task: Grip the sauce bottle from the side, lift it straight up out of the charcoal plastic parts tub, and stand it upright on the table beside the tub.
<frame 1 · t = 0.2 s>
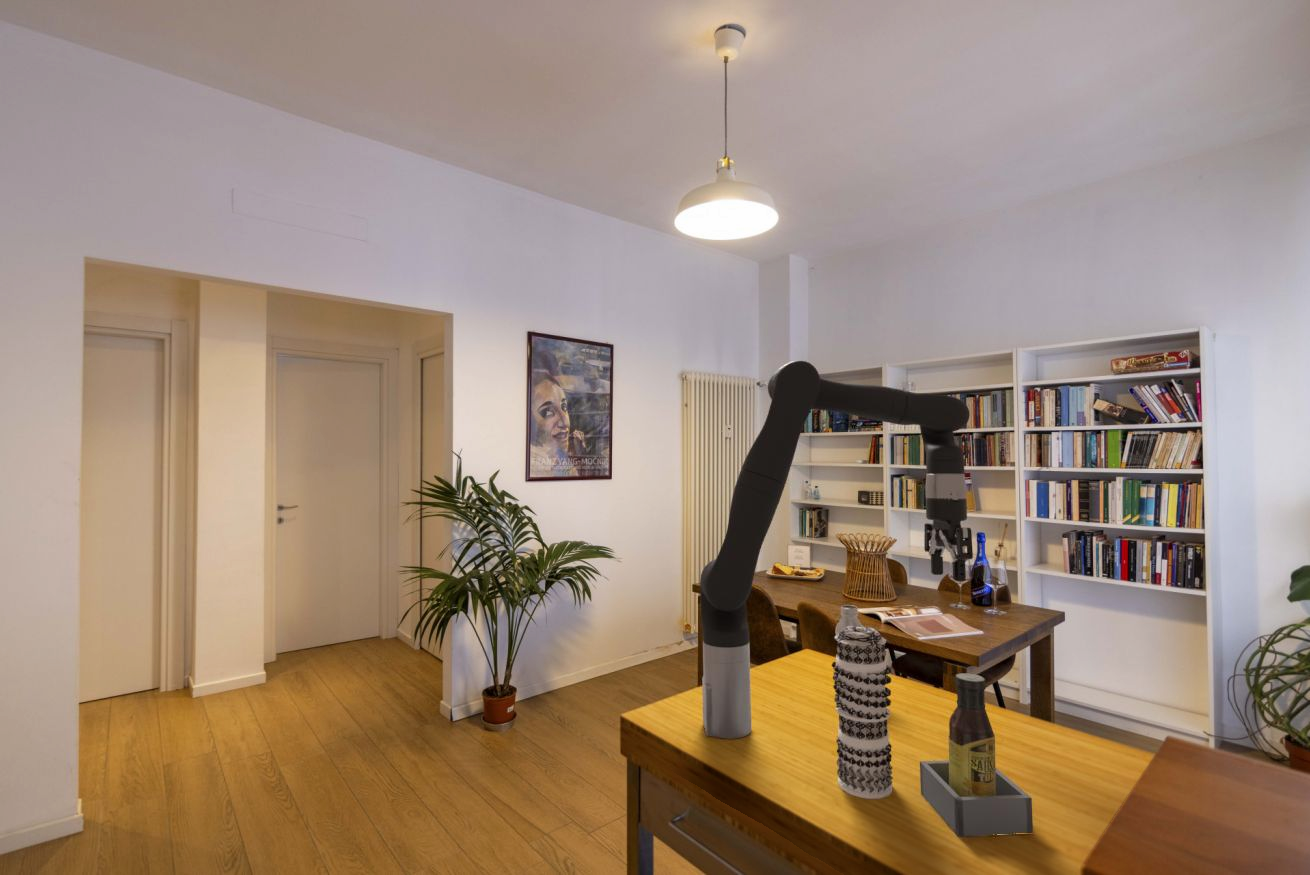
hand: (948, 577, 127), 29 cm above the table, tool pointing down, fingers open, 8 cm apart
sauce bottle: (973, 814, 94), resting in parts tub
plastic bottle: (851, 698, 141), on the table
parts tub: (973, 812, 94), on the table
decorative candle: (865, 786, 102), on the table
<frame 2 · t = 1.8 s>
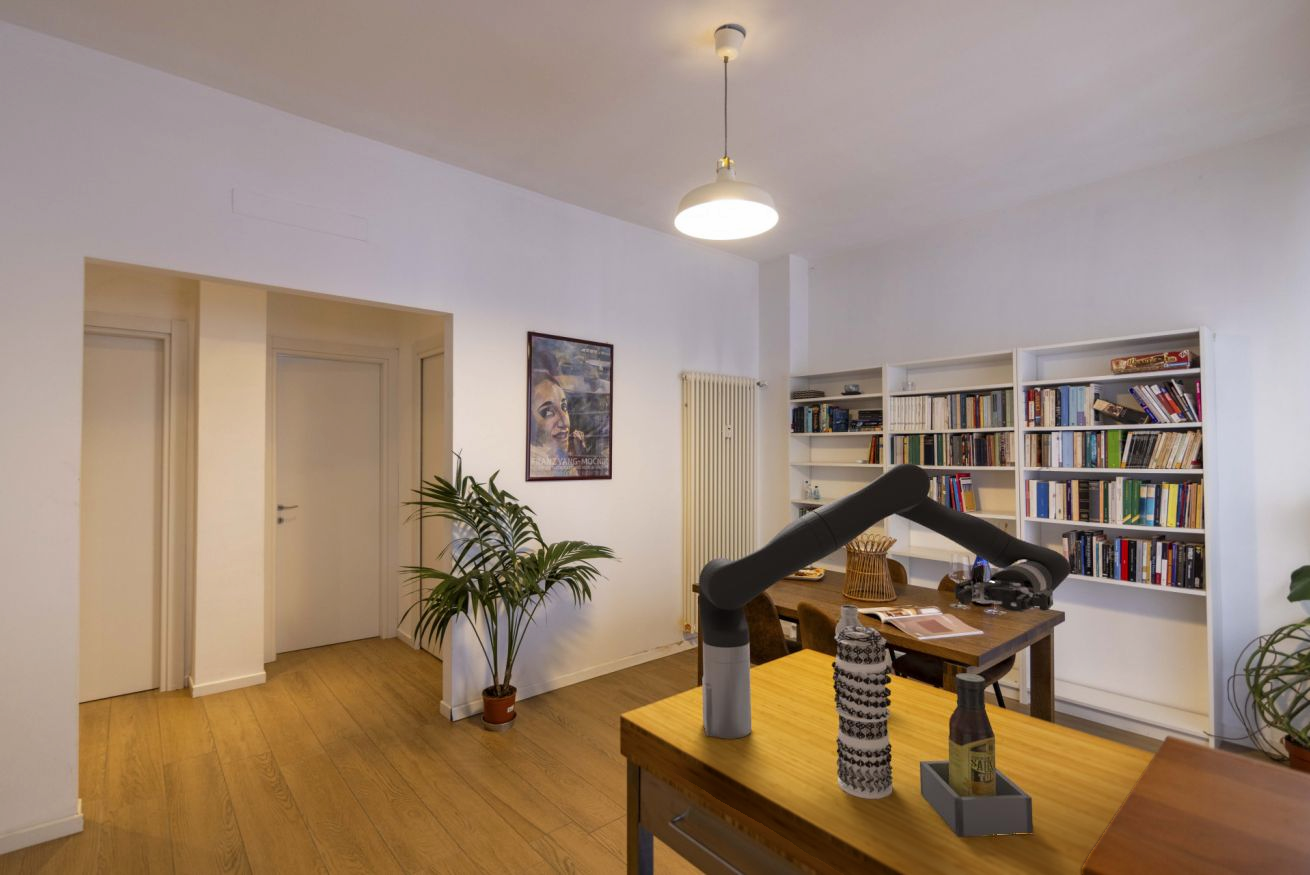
hand: (989, 601, 103), 29 cm above the table, tool horizontal, fingers open, 8 cm apart
nothing on the table moved.
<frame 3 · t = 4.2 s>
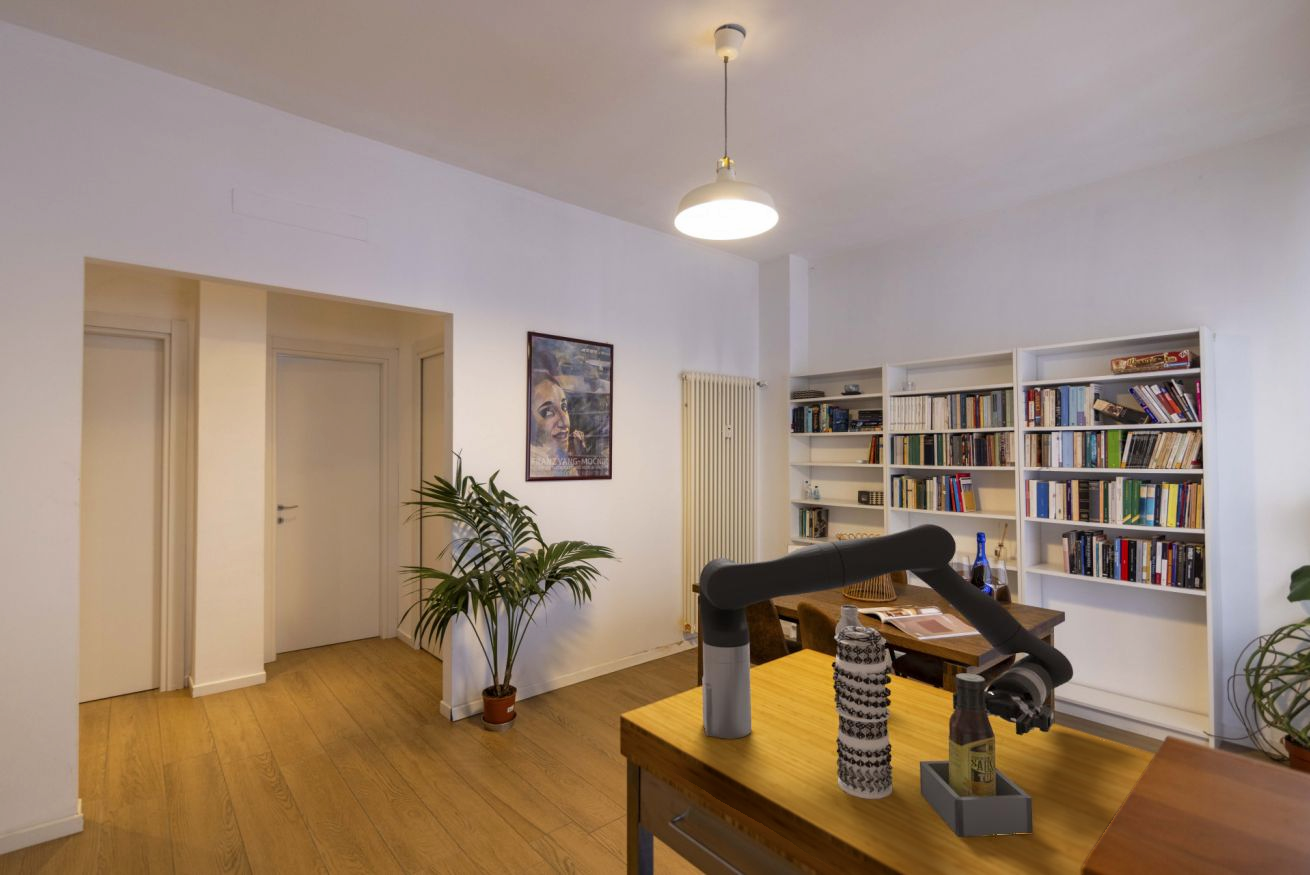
hand: (988, 720, 101), 11 cm above the table, tool horizontal, fingers open, 8 cm apart
nothing on the table moved.
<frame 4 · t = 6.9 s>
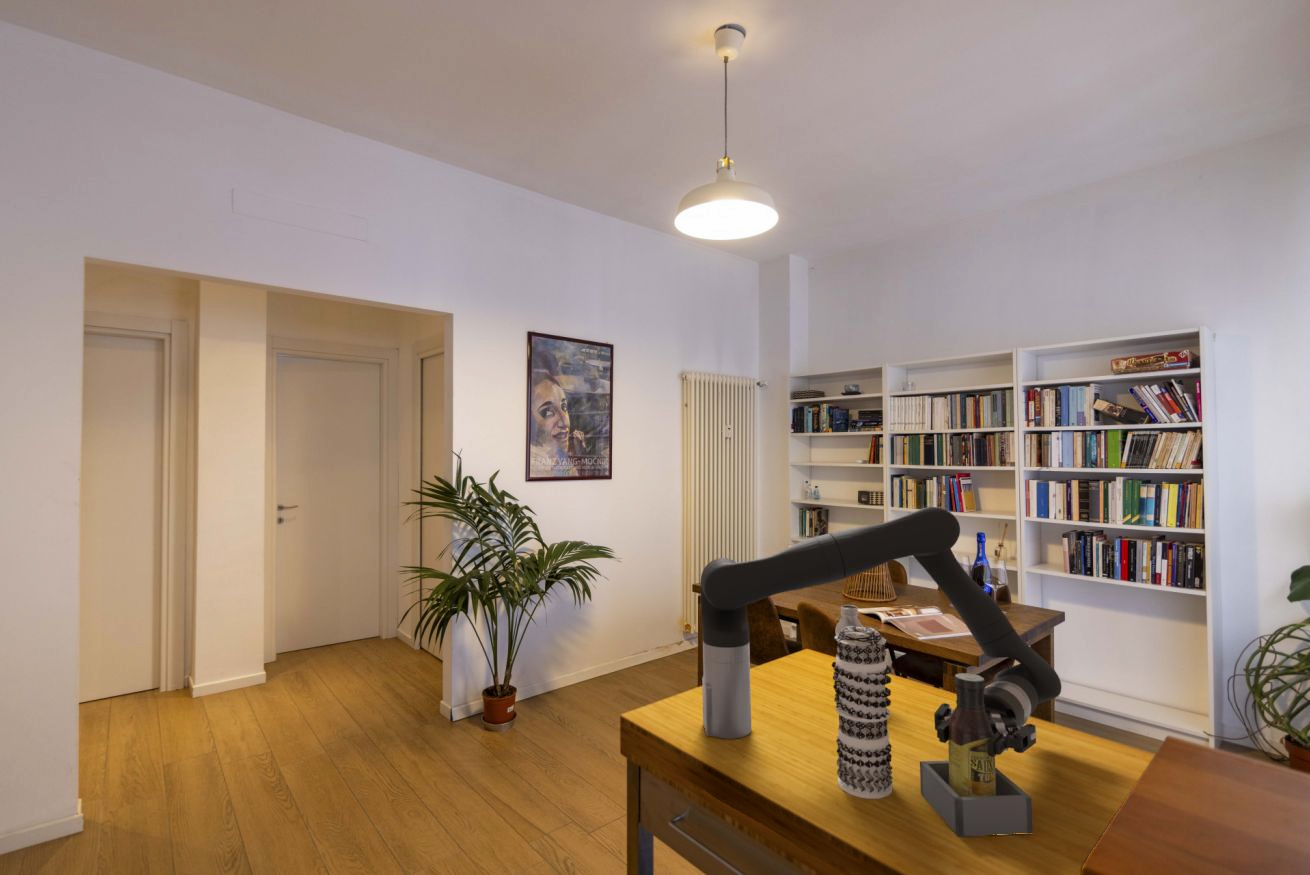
hand: (965, 742, 93), 11 cm above the table, tool horizontal, fingers closed on sauce bottle, 6 cm apart
sauce bottle: (973, 814, 94), resting in parts tub, touching gripper
everything else where it was.
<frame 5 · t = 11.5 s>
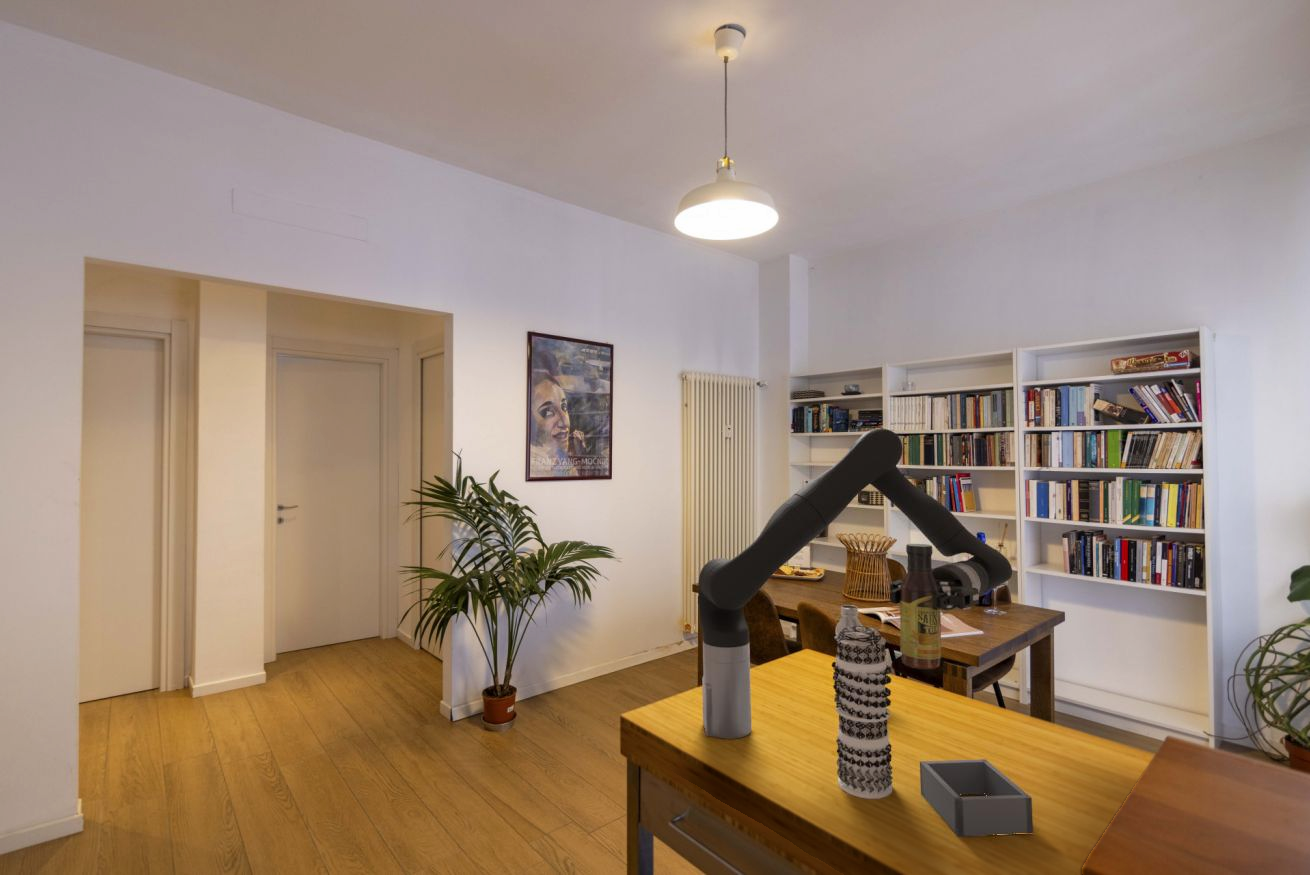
hand: (913, 600, 104), 30 cm above the table, tool horizontal, fingers closed on sauce bottle, 6 cm apart
sauce bottle: (921, 666, 105), point 18 cm above the table, touching gripper
everything else where it was.
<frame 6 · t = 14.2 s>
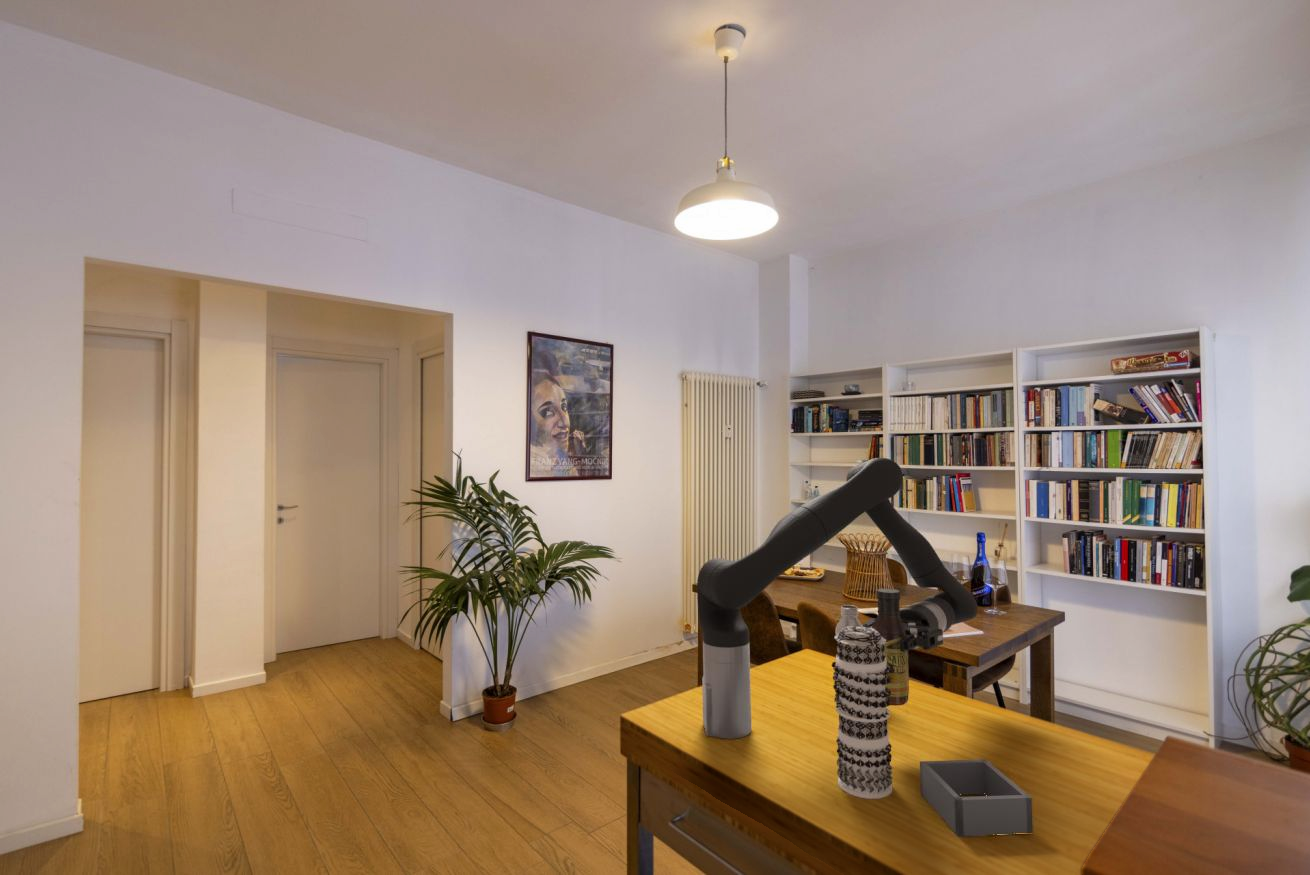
hand: (883, 642, 113), 20 cm above the table, tool horizontal, fingers closed on sauce bottle, 6 cm apart
sauce bottle: (891, 701, 114), point 9 cm above the table, touching gripper
everything else where it was.
when the fingers open (12 cm above the table, at t = 16.3 s): sauce bottle drops 1 cm, on the table.
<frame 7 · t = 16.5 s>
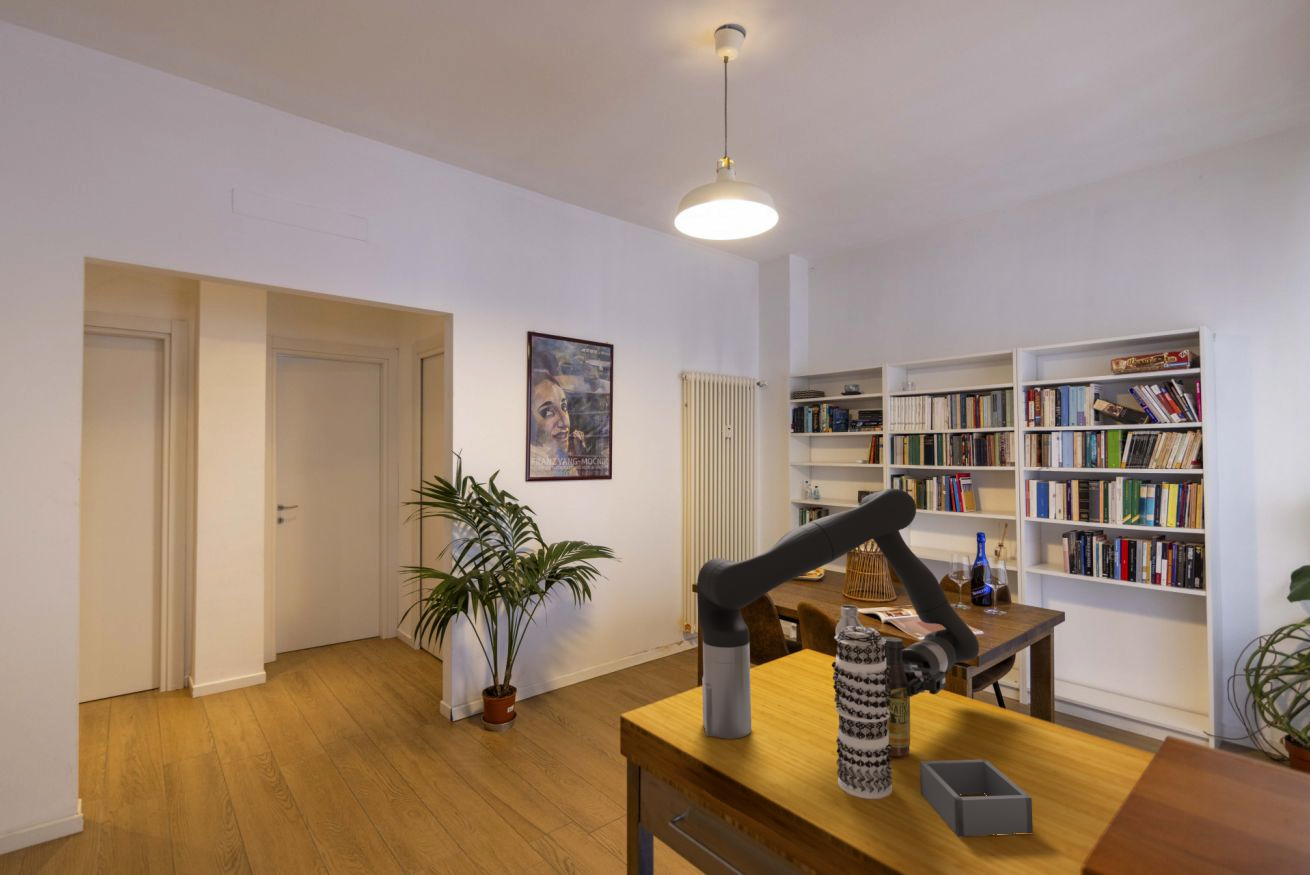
hand: (885, 685, 113), 12 cm above the table, tool horizontal, fingers open, 8 cm apart
sauce bottle: (892, 752, 114), on the table
everything else where it was.
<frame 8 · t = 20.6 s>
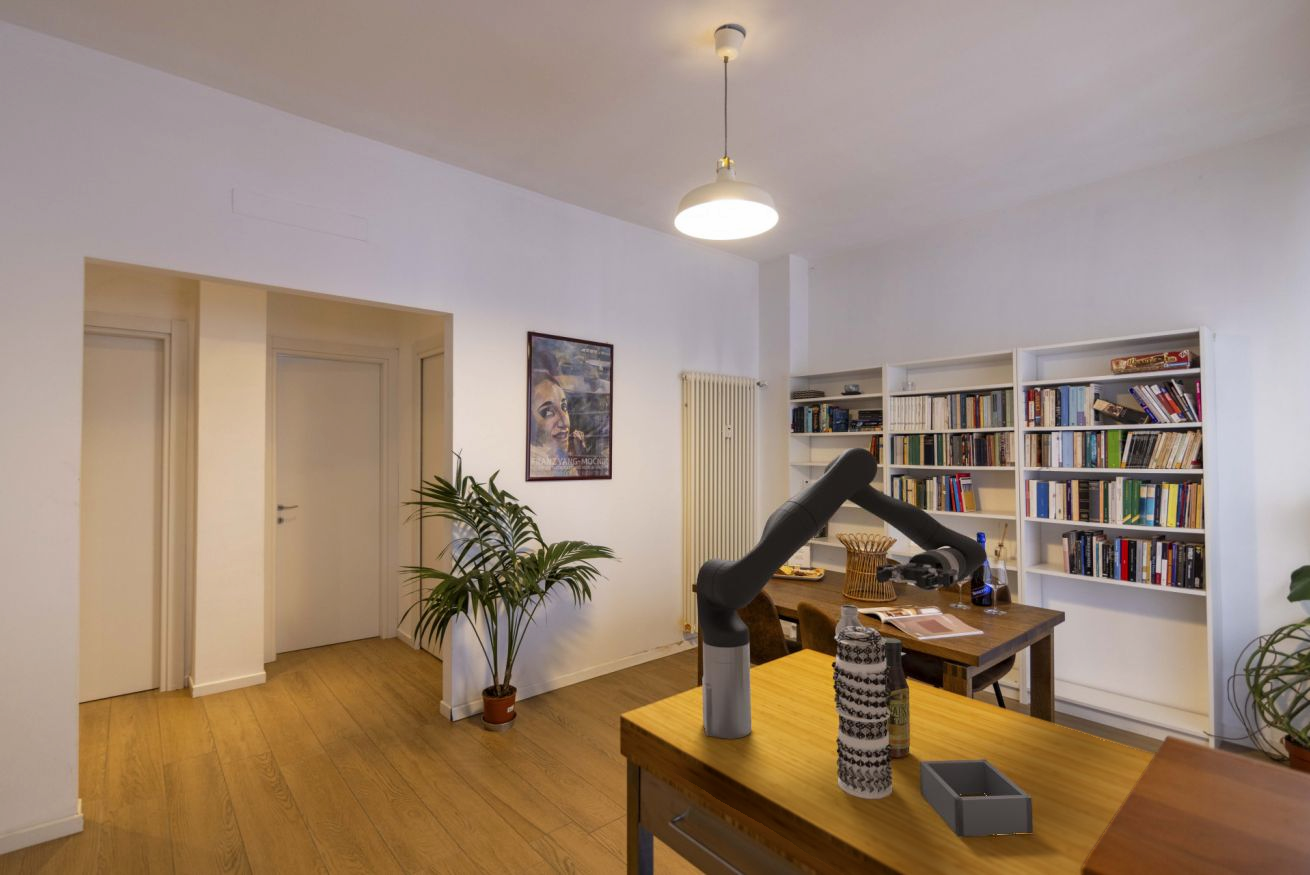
hand: (901, 579, 119), 30 cm above the table, tool horizontal, fingers open, 8 cm apart
nothing on the table moved.
at the end: sauce bottle inside the target area (0.2 cm from its centre), on the table; sauce bottle tilted 1°; the gripper is holding nothing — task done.
